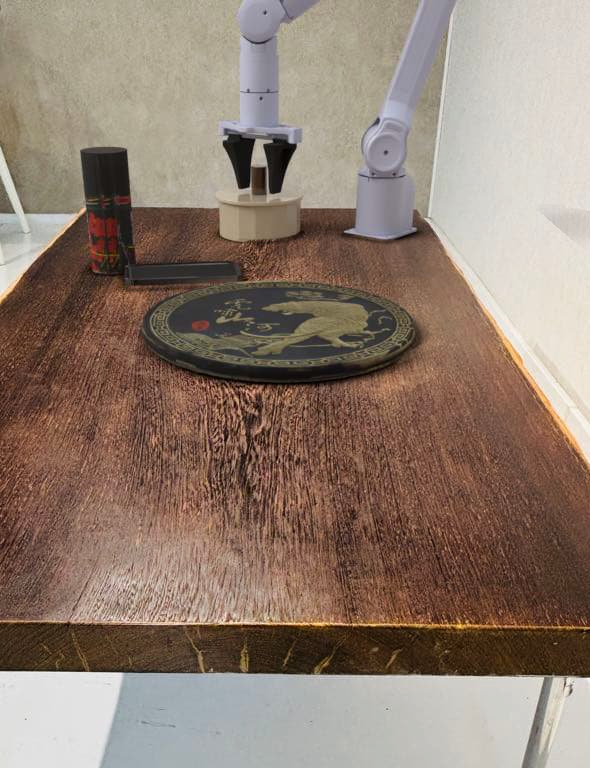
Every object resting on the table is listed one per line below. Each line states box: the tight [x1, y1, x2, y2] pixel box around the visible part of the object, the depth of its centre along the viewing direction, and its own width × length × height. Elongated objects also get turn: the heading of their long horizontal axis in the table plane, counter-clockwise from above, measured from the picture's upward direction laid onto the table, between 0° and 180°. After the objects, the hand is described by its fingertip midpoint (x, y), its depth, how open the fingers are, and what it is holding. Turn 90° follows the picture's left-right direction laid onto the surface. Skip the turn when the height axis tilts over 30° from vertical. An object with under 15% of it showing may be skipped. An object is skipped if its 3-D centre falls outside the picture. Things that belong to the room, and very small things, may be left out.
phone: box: [124, 260, 243, 287], centre depth 113 cm, size 8×1×15 cm
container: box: [217, 200, 302, 243], centre depth 134 cm, size 13×13×5 cm
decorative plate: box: [141, 280, 416, 384], centre depth 94 cm, size 30×2×30 cm
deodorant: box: [79, 146, 137, 276], centre depth 113 cm, size 6×6×15 cm
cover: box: [214, 164, 304, 206], centre depth 131 cm, size 14×14×5 cm
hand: (259, 190), depth 132 cm, fingers open, 6 cm apart
